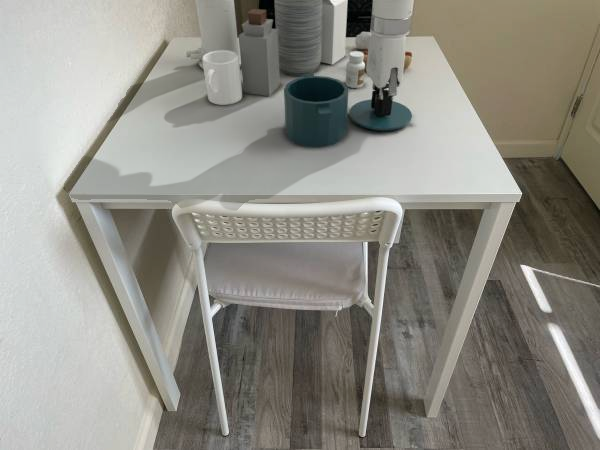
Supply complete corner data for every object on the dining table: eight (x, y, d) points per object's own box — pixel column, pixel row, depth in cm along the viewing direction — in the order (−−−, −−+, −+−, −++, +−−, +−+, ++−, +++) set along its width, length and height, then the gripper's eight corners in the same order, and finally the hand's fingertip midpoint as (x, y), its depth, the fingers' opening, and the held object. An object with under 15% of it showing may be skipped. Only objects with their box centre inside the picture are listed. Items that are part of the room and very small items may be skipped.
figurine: (357, 45, 134) (358, 28, 131) (383, 49, 132) (385, 32, 128) (353, 50, 131) (354, 32, 128) (380, 54, 129) (382, 36, 126)
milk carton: (344, 56, 128) (348, -18, 115) (332, 65, 123) (335, -12, 111) (322, 51, 131) (324, -22, 118) (309, 60, 126) (310, -16, 114)
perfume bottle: (279, 84, 114) (276, 8, 102) (269, 96, 110) (265, 17, 98) (254, 81, 116) (249, 5, 104) (243, 92, 111) (236, 14, 99)
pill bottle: (362, 89, 112) (364, 57, 107) (344, 87, 113) (346, 56, 108) (364, 81, 115) (366, 50, 110) (346, 80, 116) (348, 49, 111)
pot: (292, 157, 89) (291, 112, 83) (280, 114, 103) (278, 73, 96) (355, 150, 91) (358, 106, 85) (335, 109, 104) (336, 68, 98)
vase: (305, 82, 115) (305, -18, 100) (268, 72, 120) (263, -25, 105) (329, 66, 123) (332, -29, 108) (293, 57, 128) (291, -35, 112)
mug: (195, 110, 104) (188, 68, 98) (216, 88, 113) (211, 48, 107) (228, 114, 103) (223, 72, 96) (247, 92, 111) (243, 51, 105)
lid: (358, 135, 95) (360, 111, 91) (342, 106, 105) (343, 82, 101) (420, 129, 96) (424, 105, 93) (399, 101, 106) (402, 78, 103)
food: (408, 65, 123) (411, 46, 120) (411, 73, 119) (414, 54, 116) (356, 64, 124) (357, 46, 120) (357, 73, 119) (358, 53, 116)
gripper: (360, 12, 93) (354, 96, 105) (384, 39, 81) (374, 131, 93) (395, 10, 94) (385, 94, 106) (424, 36, 82) (409, 128, 94)
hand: (380, 110), depth 100 cm, fingers closed on lid, 2 cm apart
